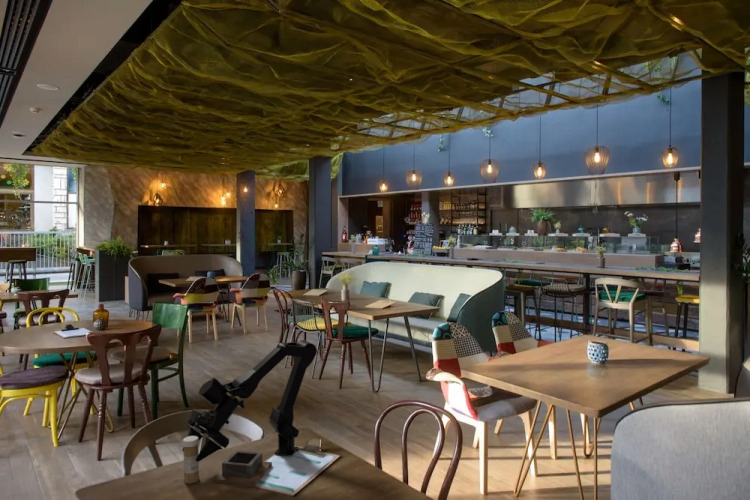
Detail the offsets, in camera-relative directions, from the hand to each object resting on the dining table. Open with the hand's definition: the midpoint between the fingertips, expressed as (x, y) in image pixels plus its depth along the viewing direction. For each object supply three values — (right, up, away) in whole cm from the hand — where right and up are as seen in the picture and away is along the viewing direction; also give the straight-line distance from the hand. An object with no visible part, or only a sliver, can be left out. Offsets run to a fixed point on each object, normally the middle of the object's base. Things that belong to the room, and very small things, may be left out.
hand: (189, 456), depth 161 cm
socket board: (+15, -7, +5) cm, 18 cm away
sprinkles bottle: (0, -8, 0) cm, 8 cm away
